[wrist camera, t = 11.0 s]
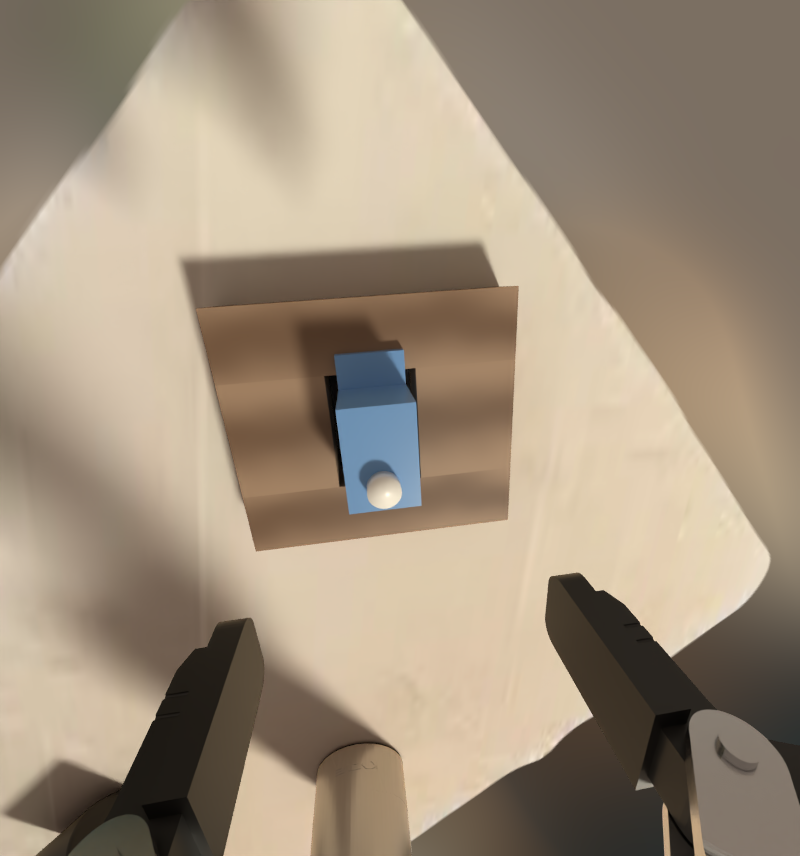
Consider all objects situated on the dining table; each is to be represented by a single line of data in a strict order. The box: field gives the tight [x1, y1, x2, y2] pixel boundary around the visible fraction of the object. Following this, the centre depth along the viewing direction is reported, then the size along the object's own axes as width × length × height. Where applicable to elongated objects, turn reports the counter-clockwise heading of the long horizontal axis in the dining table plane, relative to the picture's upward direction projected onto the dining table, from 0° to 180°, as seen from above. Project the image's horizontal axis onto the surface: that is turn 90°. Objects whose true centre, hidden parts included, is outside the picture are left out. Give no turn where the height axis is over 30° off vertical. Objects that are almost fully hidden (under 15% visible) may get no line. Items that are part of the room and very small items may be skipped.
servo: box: [334, 349, 422, 514], centre depth 22 cm, size 10×4×8 cm, turn 4°
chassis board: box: [196, 286, 519, 551], centre depth 25 cm, size 16×18×3 cm
